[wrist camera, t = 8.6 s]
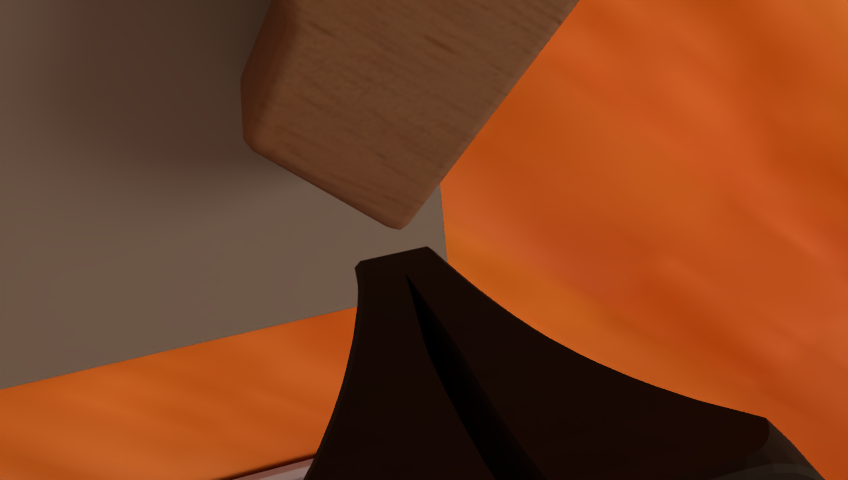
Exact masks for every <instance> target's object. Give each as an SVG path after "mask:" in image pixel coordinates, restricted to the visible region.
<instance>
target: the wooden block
mask: <svg viewBox="0 0 848 480" xmlns="http://www.w3.org/2000/svg"><path fill="white" fill-rule="evenodd" d="M578 2H579V0H272V1H271V3H270V6H269V8H268V11H267V13H266V16H265V18H264V21H263V23H262V26H261V28H260V31H259V33H258V36H257V38H256V41H255V43H254V46H253V48H252V51H251V53H250V56H249V58H248V61H247V63H246V66H245V68H244V71H243V73H242V76H241V78H240V93H241V110H242V127H243V140H244V141H245V142H246V143H247V145H248V146H249V147H250V148H251V150H252V151H254V152H256V153H257V154H259V155H261V156H263V157H265V158H266V159H268V160H270V161H272V162H273V163H275V164H277V165H279V166H280V167H282V168H284V169H286V170H287V171H289V172H291V173H293V174H295V175H296V176H298V177H300V178H302V179H303V180H305V181H307V182H309V183H310V184H312V185H314V186H316V187H317V188H319V189H321V190H323V191H325V192H326V193H328V194H330V195H332V196H333V197H335V198H337V199H339V200H340V201H342V202H344V203H346V204H347V205H349V206H351V207H353V208H354V209H356V210H358V211H360V212H362V213H363V214H365V215H367V216H369V217H370V218H372V219H374V220H376V221H377V222H379V223H381V224H383V225H384V226H386V227H389V228H393V229H398V230H401V229H402V228H404V227H405V226H407V225H408V224H409V223H410V221H411V220H412V219H413V217H414V216H415V215H416V213H417V212H418V211H419V210H420V208H421V207H422V206H423V204H424V203H425V202H426V200H427V199H428V198H429V196H430V195H431V194H432V193H433V191H434V190H435V189H436V187H437V186H438V185H439V183H440V182H441V181H442V179H443V178H444V177H445V176H446V174H447V173H448V172H449V170H450V169H451V168H452V166H453V165H454V164H455V162H456V161H457V160H458V159H459V157H460V156H461V155H462V153H463V152H464V151H465V149H466V148H467V147H468V145H469V144H470V143H471V142H472V140H473V139H474V138H475V136H476V135H477V134H478V132H479V131H480V130H481V129H482V127H483V126H484V125H485V123H486V122H487V121H488V119H489V118H490V117H491V115H492V114H493V113H494V112H495V110H496V109H497V108H498V106H499V105H500V104H501V102H502V101H503V100H504V98H505V97H506V96H507V95H508V93H509V92H510V91H511V89H512V88H513V87H514V85H515V84H516V83H517V81H518V80H519V79H520V78H521V76H522V75H523V74H524V72H525V71H526V70H527V68H528V67H529V66H530V64H531V63H532V62H533V61H534V59H535V58H536V57H537V55H538V54H539V53H540V51H541V50H542V49H543V47H544V46H545V45H546V43H547V42H548V41H549V40H550V38H551V37H552V36H553V34H554V33H555V32H556V30H557V29H558V28H559V26H560V25H561V24H562V23H563V21H564V20H565V19H566V17H567V16H568V15H569V13H570V12H571V11H572V9H573V8H574V7H575V6H576V4H577V3H578Z"/></svg>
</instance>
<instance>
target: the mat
mask: <svg viewBox="0 0 848 480" xmlns="http://www.w3.org/2000/svg"><path fill="white" fill-rule="evenodd" d="M271 1H272V0H0V389H4V388H9V387H13V386H17V385H21V384H26V383H30V382H34V381H39V380H43V379H47V378H52V377H56V376H60V375H65V374H69V373H73V372H77V371H82V370H86V369H90V368H95V367H99V366H103V365H108V364H112V363H116V362H120V361H125V360H129V359H133V358H138V357H142V356H146V355H151V354H155V353H159V352H163V351H168V350H172V349H176V348H181V347H185V346H189V345H194V344H198V343H202V342H206V341H211V340H215V339H219V338H224V337H228V336H232V335H237V334H241V333H245V332H250V331H254V330H258V329H262V328H267V327H271V326H275V325H280V324H284V323H288V322H293V321H297V320H301V319H305V318H310V317H314V316H318V315H323V314H327V313H331V312H336V311H340V310H344V309H348V308H353V307H357V301H358V284H357V279H356V273H355V267H356V265H357V264H358V263H359V262H360V261H362V260H367V259H371V258H376V257H380V256H385V255H389V254H394V253H398V252H403V251H407V250H412V249H416V248H421V247H425V246H428V247H429V248H431V249H432V250H434V251H435V252H436V253H437V254H438V255H439V256H440V257H441V258H443V259H444V260H445V261H446V262H447V255H446V245H445V234H444V223H443V212H442V202H441V191H440V183H439V185H438V186H437V187H436V189H435V190H434V191H433V193H432V194H431V195H430V196H429V198H428V199H427V200H426V202H425V203H424V204H423V206H422V207H421V208H420V210H419V211H418V212H417V213H416V215H415V216H414V217H413V219H412V220H411V221H410V223H409V224H408V225H407V226H405V227H404V228H402V229H401V230H398V229H393V228H389V227H386V226H384V225H383V224H381V223H379V222H377V221H376V220H374V219H372V218H370V217H369V216H367V215H365V214H363V213H362V212H360V211H358V210H356V209H354V208H353V207H351V206H349V205H347V204H346V203H344V202H342V201H340V200H339V199H337V198H335V197H333V196H332V195H330V194H328V193H326V192H325V191H323V190H321V189H319V188H317V187H316V186H314V185H312V184H310V183H309V182H307V181H305V180H303V179H302V178H300V177H298V176H296V175H295V174H293V173H291V172H289V171H287V170H286V169H284V168H282V167H280V166H279V165H277V164H275V163H273V162H272V161H270V160H268V159H266V158H265V157H263V156H261V155H259V154H257V153H256V152H254V151H252V150H251V148H250V147H249V146H248V145H247V143H246V142H245V141H244V140H243V127H242V110H241V93H240V78H241V76H242V73H243V71H244V68H245V66H246V63H247V61H248V58H249V56H250V53H251V51H252V48H253V46H254V43H255V41H256V38H257V36H258V33H259V31H260V28H261V26H262V23H263V21H264V18H265V16H266V13H267V11H268V8H269V6H270V3H271Z"/></svg>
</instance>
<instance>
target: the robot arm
mask: <svg viewBox="0 0 848 480" xmlns="http://www.w3.org/2000/svg"><path fill="white" fill-rule="evenodd" d="M355 273H356V279H357V284H358V301H357V313H356V321H355V328H354V336H353V341H352V346H351V350H350V355H349V359H348V363H347V368H346V372H345V376H344V379H343V383H342V386H341V390H340V393H339V396H338V399H337V402H336V405H335V408H334V411H333V414H332V416H331V419H330V421H329V424H328V426H327V429H326V431H325V434H324V436H323V439H322V441H321V444H320V446H319V448H318V450H317V453H316V455H315V457H314V458H313V459H309V460H305V461H302V462H298V463H294V464H290V465H286V466H283V467H279V468H275V469H271V470H268V471H264V472H260V473H256V474H252V475H249V476H245V477H241V478H237V479H234V480H825V479H824V478H823V477H822V476H821V475H820V474H819V473H818V472H817V471H816V470H815V468H814V467H813V466H812V465H811V464H810V463H809V462H808V461H807V460H806V458H805V457H804V456H803V455H802V454H801V453H800V451H799V450H798V449H797V448H796V447H795V446H794V445H793V444H792V443H791V441H789V440H788V439H787V438H786V437H785V436H784V435H783V434H782V433H781V432H780V431H779V430H778V429H777V428H776V427H775V426H774V425H773V424H772V423H771V422H769V421H768V420H767V419H766V418H764V417H760V416H756V415H753V414H749V413H745V412H741V411H737V410H733V409H729V408H726V407H722V406H718V405H714V404H710V403H706V402H702V401H699V400H696V399H692V398H689V397H686V396H683V395H680V394H677V393H674V392H671V391H668V390H665V389H662V388H659V387H656V386H653V385H651V384H648V383H645V382H643V381H640V380H637V379H635V378H632V377H630V376H627V375H625V374H623V373H620V372H618V371H616V370H613V369H611V368H609V367H606V366H604V365H602V364H599V363H597V362H595V361H593V360H591V359H589V358H587V357H584V356H582V355H580V354H578V353H576V352H574V351H573V350H571V349H569V348H567V347H565V346H563V345H561V344H560V343H558V342H556V341H554V340H552V339H550V338H548V337H547V336H545V335H543V334H542V333H540V332H539V331H537V330H535V329H534V328H532V327H531V326H529V325H528V324H526V323H525V322H523V321H522V320H520V319H519V318H517V317H516V316H514V315H513V314H511V313H510V312H508V311H507V310H506V309H504V308H503V307H501V306H500V305H499V304H497V303H496V302H495V301H494V300H492V299H491V298H490V297H488V296H487V295H486V294H484V293H483V292H482V291H480V290H479V289H478V288H477V287H475V286H474V285H473V284H472V283H470V282H469V281H468V280H467V279H466V278H464V277H463V276H462V275H461V274H460V273H458V272H457V271H456V270H455V269H454V268H453V267H451V266H450V265H449V264H448V263H447V262H446V261H445V260H444V259H443V258H441V257H440V256H439V255H438V254H437V253H436V252H435V251H434V250H432V249H431V248H429V247H428V246H425V247H421V248H416V249H412V250H407V251H403V252H398V253H394V254H389V255H385V256H380V257H376V258H371V259H367V260H362V261H360V262H359V263H358V264H357V265H356V267H355Z"/></svg>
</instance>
